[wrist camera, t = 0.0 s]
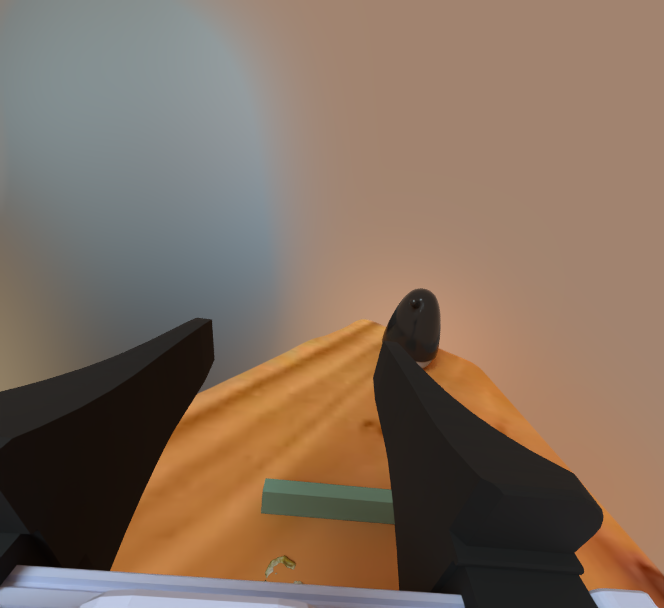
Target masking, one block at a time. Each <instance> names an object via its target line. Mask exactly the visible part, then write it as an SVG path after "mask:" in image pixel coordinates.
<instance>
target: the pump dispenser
mask: <svg viewBox="0 0 664 608" xmlns="http://www.w3.org/2000/svg"><path fill="white" fill-rule="evenodd" d="M439 340H440V309H439V304H438V301H437V299H436V297H435V295H434V294H433V293H432V292H431V291H429V290H427V289H421V288H420V289H415V290H413V291H411V292H410V293H408V294H407V295H406V296H405V297H404V298H403V299H402V301H401V302H400V303H399V305H398V306H397V308H396V310H395V311H394V313H393V315H392V317H391V319H390V320H389V323H388V325H387V327H386V329H385V332H384V335H383V338H382V343H383V341H391V342H398V343H399V344H400V345H401V346H402V347H403V349H404V350H405V351H406V352H407V353H408V354H409V355H410V356H411V357H412V358H413V359H414V360H415V361H416V363H417V364H418V365H419V366H420V367H421V368H422V369H423V368H425V367H426V366H427V365H429V364H430V362H431V361H432V360H433V359H434V358H435V357H436V355H437V351H438V347H439Z"/></svg>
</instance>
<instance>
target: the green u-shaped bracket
mask: <svg viewBox="0 0 664 608" xmlns="http://www.w3.org/2000/svg"><path fill="white" fill-rule="evenodd" d="M261 513H265V514H277V515H289V516H301V517H313V518H326V519H338V520H350V521H362V522H374V523H386V524H395V521H394V510H393V501H392V491H391V490H389V489H378V488H366V487H355V486H344V485H333V484H322V483H311V482H300V481H289V480H278V479H265V484H264V488H263V494H262V508H261Z"/></svg>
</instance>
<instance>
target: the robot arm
mask: <svg viewBox="0 0 664 608" xmlns="http://www.w3.org/2000/svg"><path fill="white" fill-rule="evenodd" d="M213 361H214V345H213V330H212V320H210V319H203V318H195V319H193V320H190V321H188V322H186V323H184V324H182V325H180V326H179V327H176V328H174V329H172V330H170V331H168V332H166V333H164V334H162V335H160V336H158V337H156V338H154V339H152V340H150V341H148V342H146V343H144V344H142V345H139V346H137V347H135V348H133V349H130V350H128V351H126V352H124V353H121V354H119V355H117V356H114V357H112V358H109V359H107V360H104V361H101V362H99V363H96V364H93V365H90V366H87V367H85V368H82V369H79V370H75V371H72V372H69V373H66V374H63V375H60V376H56V377H53V378H50V379H47V380H43V381H40V382H36V383H32V384H29V385H25V386H21V387H18V388H14V389H9V390H5V391H1V392H0V608H658V607H657V606H656V605H655V603H654V602H653V601H652V599H651V598H650V596H649V595H648V594H647V593H645V592H643V591H635V590H621V589H607V588H604V589H595V590H591V591H588V590H587V588H586V586H585V585H584V583H583V581H582V580H581V578H580V576H579V575H582V574H583V573H584V568H583V566H582V565H581V563H580V561H579V560H578V558H577V557H576V555H575V552H576V551H577V550H578V549H579V548H580V547H581V546H582V545H583V544H585V543H586V542H587V541H588V540H589V539H590V538H591V537H592V536H594V535H595V533H596V532H597V531H598V530H599V529H600V527H601V524H602V522H603V512H602V509H601V508H600V506H599V505H598V504H597V503H596V501H595V500H594V499H593V497H592V496H591V495H590V494H589V492H588V491H587V490H586V488H585V487H584V486H583V485H582V483H581V482H580V481H579V479H578V478H577V477H576V476H575V474H574V473H572V472H570V471H568V470H566V469H564V468H562V467H560V466H559V465H557V464H555V463H553V462H551V461H549V460H547V459H545V458H543V457H542V456H540V455H538V454H536V453H534V452H532V451H531V450H529V449H527V448H525V447H524V446H522V445H520V444H519V443H517V442H515V441H514V440H512V439H510V438H509V437H507V436H506V435H504V434H503V433H501V432H499V431H498V430H496V429H495V428H493V427H492V426H490V425H489V424H488V423H486V422H485V421H483V420H482V419H480V418H479V417H477V416H476V415H475V414H473V413H472V412H471V411H469V410H468V409H467V408H466V407H464V406H463V405H462V404H461V403H459V402H458V401H457V400H456V399H454V398H453V397H452V396H451V395H450V394H448V393H447V392H446V391H445V390H444V389H443V388H442V387H441V386H440V385H438V384H437V383H436V382H435V381H434V380H433V379H432V378H431V377H430V376H429V375H428V374H427V373H426V372H425V371H424V370H423V369H422V368H421V367H420V366H419V365H418V364H417V363H416V361H415V360H414V359H413V358H412V357H411V356H410V355H409V354H408V353H407V352H406V351H405V350H404V349H403V347H402V346H401V345H400V344H399V343H398V342H391V341H383V343H382V347H381V351H380V354H379V358H378V362H377V366H376V369H375V373H374V377H373V381H374V393H375V401H376V406H377V411H378V415H379V420H380V424H381V429H382V433H383V438H384V442H385V447H386V452H387V458H388V465H389V473H390V482H391V491H392V501H393V510H394V521H395V534H396V546H397V560H398V576H399V591H396V590H382V589H367V588H352V587H337V586H322V585H307V584H292V583H278V582H263V581H248V580H233V579H218V578H203V577H189V576H174V575H159V574H144V573H129V572H114V571H110V569H111V567H112V564H113V562H114V559H115V557H116V555H117V552H118V550H119V547H120V545H121V542H122V540H123V537H124V535H125V533H126V530H127V528H128V526H129V523H130V521H131V519H132V517H133V514H134V512H135V510H136V507H137V505H138V503H139V501H140V498H141V496H142V494H143V492H144V490H145V488H146V485H147V483H148V481H149V479H150V477H151V475H152V473H153V470H154V468H155V466H156V464H157V462H158V460H159V458H160V456H161V454H162V452H163V450H164V448H165V446H166V444H167V442H168V440H169V438H170V437H171V435H172V433H173V431H174V430H175V428H176V426H177V425H178V423H179V421H180V420H181V418H182V417H183V415H184V414H185V412H186V410H187V409H188V407H189V406H190V404H191V402H192V401H193V399H194V398H195V396H196V394H197V393H198V391H199V389H200V388H201V386H202V385H203V383H204V381H205V379H206V377H207V375H208V373H209V371H210V368H211V366H212V364H213Z"/></svg>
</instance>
